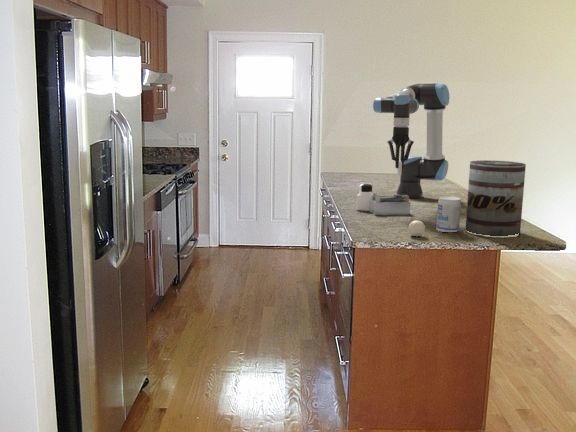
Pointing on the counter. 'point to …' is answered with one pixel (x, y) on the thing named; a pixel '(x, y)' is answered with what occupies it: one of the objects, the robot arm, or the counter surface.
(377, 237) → the counter surface
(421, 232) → the baseball
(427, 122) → the robot arm
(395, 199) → the lid
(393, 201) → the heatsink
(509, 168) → the barrel
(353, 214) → the counter surface
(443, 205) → the supplement tub
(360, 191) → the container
